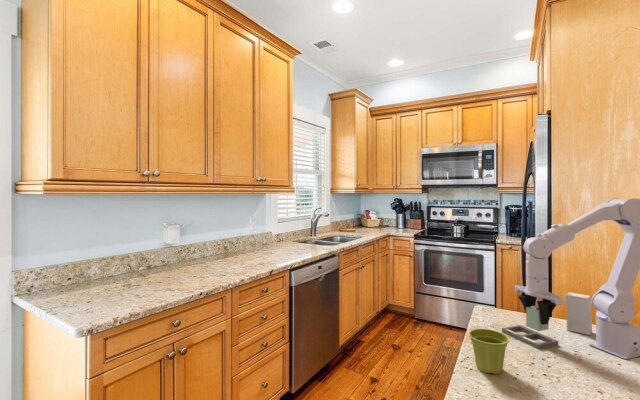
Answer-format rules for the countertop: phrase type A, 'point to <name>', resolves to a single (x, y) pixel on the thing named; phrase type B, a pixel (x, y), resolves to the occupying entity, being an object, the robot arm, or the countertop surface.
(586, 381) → the countertop surface
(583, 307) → the skincare box
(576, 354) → the countertop surface
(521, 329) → the dock
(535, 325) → the plug
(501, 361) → the plant pot
